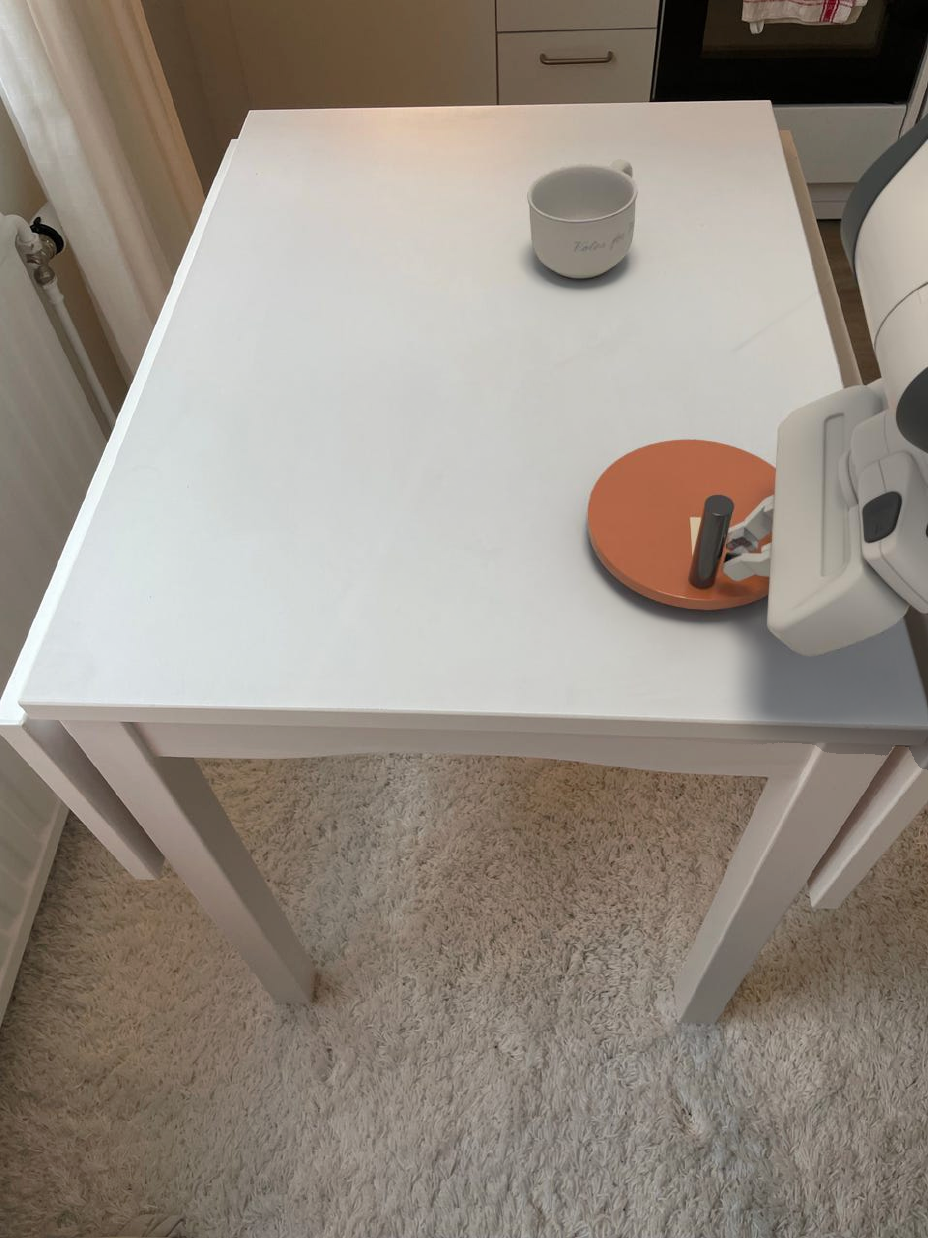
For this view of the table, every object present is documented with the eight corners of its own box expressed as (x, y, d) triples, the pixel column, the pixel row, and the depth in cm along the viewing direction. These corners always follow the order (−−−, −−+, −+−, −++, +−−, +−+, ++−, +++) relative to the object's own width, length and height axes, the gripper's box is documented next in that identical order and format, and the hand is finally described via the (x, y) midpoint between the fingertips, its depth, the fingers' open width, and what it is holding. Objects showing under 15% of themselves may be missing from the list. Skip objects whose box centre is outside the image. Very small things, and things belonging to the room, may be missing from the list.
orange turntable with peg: (852, 556, 73) (889, 469, 66) (665, 644, 69) (682, 562, 62) (719, 424, 82) (739, 335, 75) (547, 495, 78) (550, 408, 71)
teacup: (579, 305, 96) (583, 231, 89) (505, 261, 101) (504, 189, 94) (672, 248, 101) (682, 174, 94) (597, 209, 106) (602, 137, 99)
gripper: (882, 337, 64) (713, 432, 74) (890, 571, 52) (689, 646, 62) (932, 395, 67) (763, 479, 76) (950, 629, 55) (748, 693, 65)
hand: (729, 556), depth 69 cm, fingers closed
